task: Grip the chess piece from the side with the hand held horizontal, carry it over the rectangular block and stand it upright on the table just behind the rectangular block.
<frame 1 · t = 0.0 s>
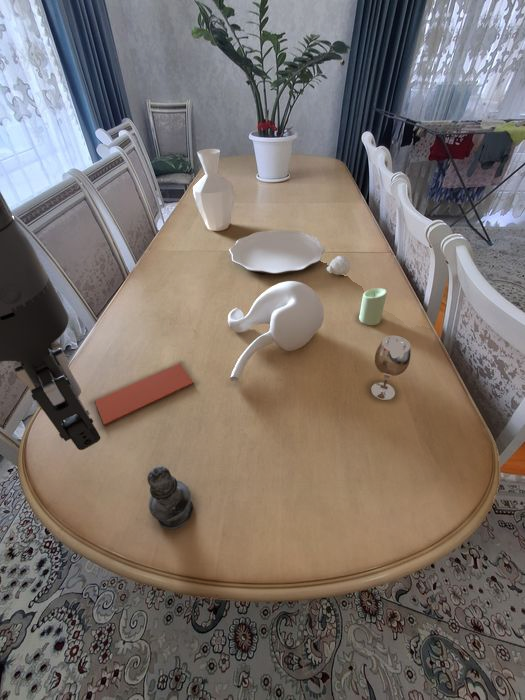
hand: (77, 417, 38), 22 cm above the table, tool pointing down, fingers open, 8 cm apart
stomach: (275, 343, 79), on the table
vase: (218, 226, 131), on the table
garlic bulb: (335, 276, 101), on the table
plate: (276, 256, 111), on the table
chess piece: (175, 511, 52), on the table
wineglass: (382, 391, 67), on the table
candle: (369, 320, 84), on the table
rectangular block: (145, 392, 70), on the table
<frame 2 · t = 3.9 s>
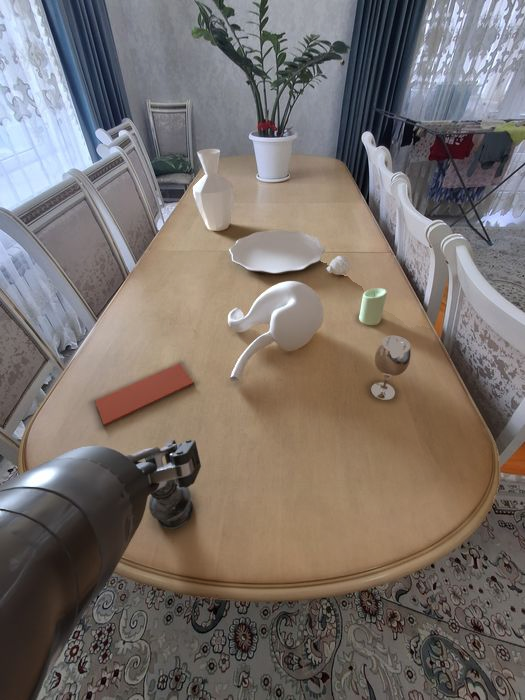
hand: (132, 461, 36), 20 cm above the table, tool tilted 45°, fingers open, 8 cm apart
nothing on the table moved.
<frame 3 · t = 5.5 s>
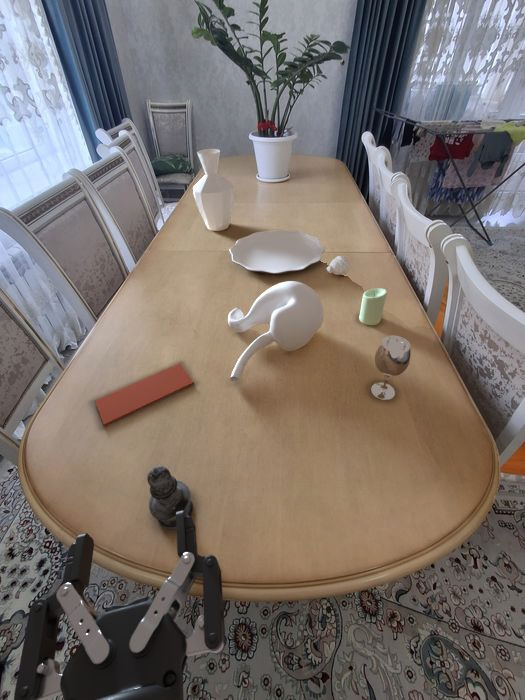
hand: (134, 525, 32), 19 cm above the table, tool horizontal, fingers open, 8 cm apart
nothing on the table moved.
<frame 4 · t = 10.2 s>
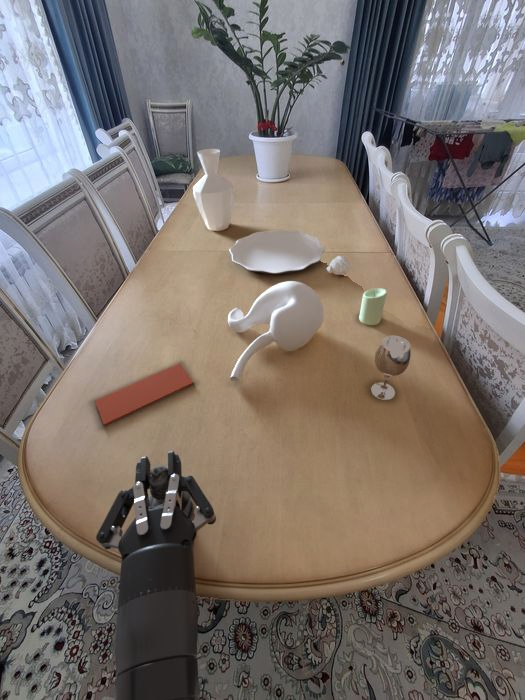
hand: (158, 457, 47), 10 cm above the table, tool horizontal, fingers closed on chess piece, 3 cm apart
chess piece: (175, 511, 52), on the table, touching gripper
everything else where it was.
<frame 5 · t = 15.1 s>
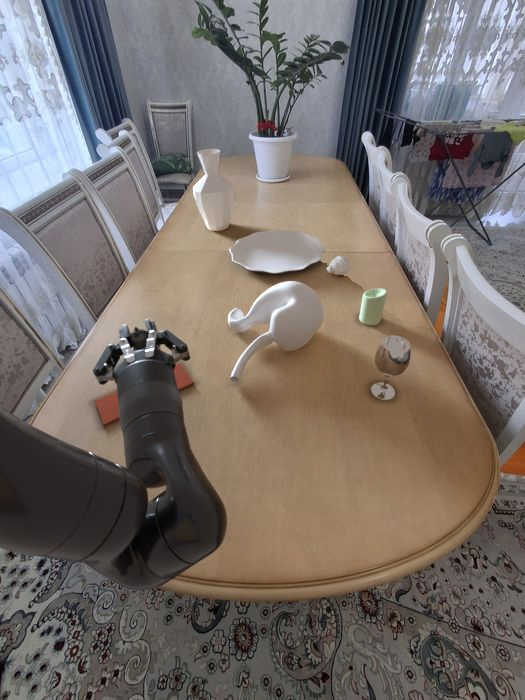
hand: (137, 326, 56), 18 cm above the table, tool horizontal, fingers closed on chess piece, 3 cm apart
chess piece: (156, 381, 61), point 8 cm above the table, touching gripper
everything else where it was.
when the fingers open (10 cm above the table, at t = 20.2 s): chess piece stays where it is, on the table.
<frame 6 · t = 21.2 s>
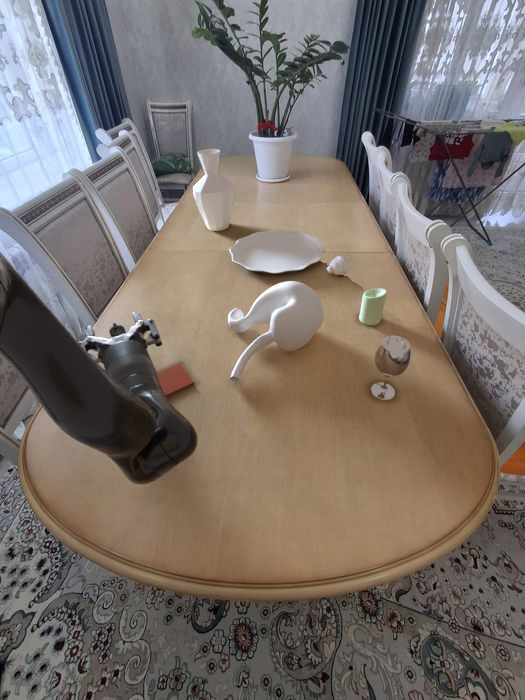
hand: (113, 322, 69), 11 cm above the table, tool horizontal, fingers open, 8 cm apart
chess piece: (132, 367, 76), on the table
everything else where it was.
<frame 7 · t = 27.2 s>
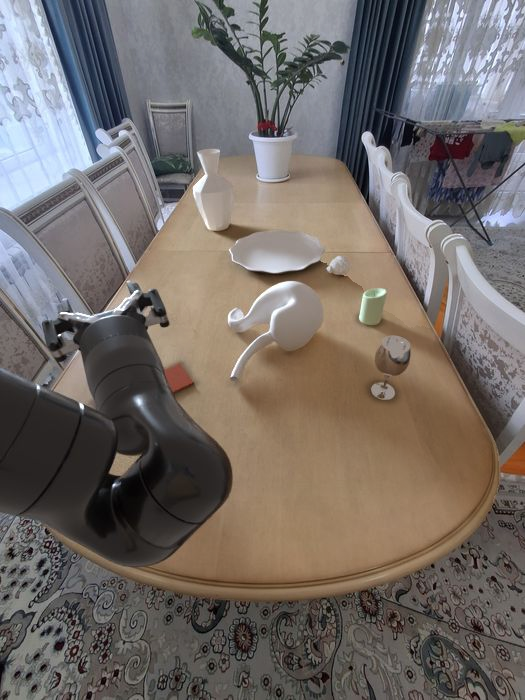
hand: (99, 295, 49), 26 cm above the table, tool horizontal, fingers open, 8 cm apart
nothing on the table moved.
at the end: chess piece inside the target area on the table beside the rectangular block (0.7 cm from its centre), on the table; chess piece tilted 0° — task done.
